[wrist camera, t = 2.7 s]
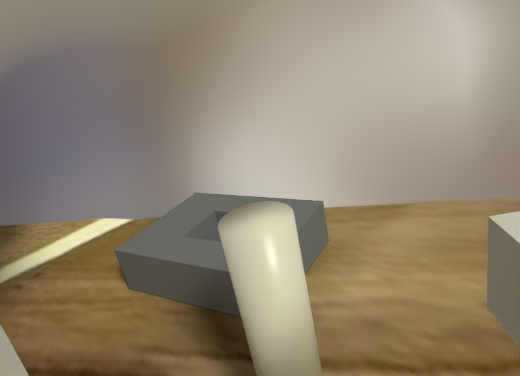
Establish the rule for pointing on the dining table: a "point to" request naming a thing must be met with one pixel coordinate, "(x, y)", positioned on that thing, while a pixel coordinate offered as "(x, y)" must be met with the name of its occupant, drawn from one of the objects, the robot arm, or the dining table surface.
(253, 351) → the pin
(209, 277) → the hole block
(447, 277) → the dining table surface
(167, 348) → the dining table surface
